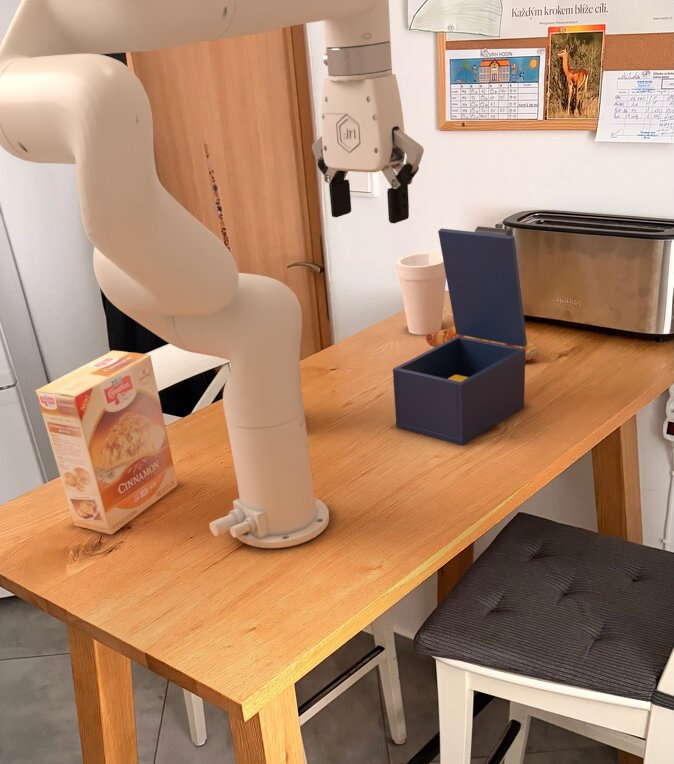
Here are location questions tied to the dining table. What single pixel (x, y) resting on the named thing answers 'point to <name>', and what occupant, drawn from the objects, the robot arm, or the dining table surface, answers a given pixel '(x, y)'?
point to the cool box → (459, 389)
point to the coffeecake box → (109, 439)
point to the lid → (484, 284)
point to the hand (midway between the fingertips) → (369, 217)
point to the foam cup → (422, 291)
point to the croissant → (447, 335)
